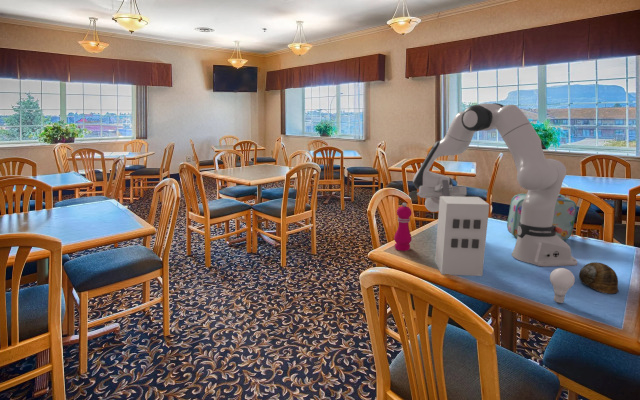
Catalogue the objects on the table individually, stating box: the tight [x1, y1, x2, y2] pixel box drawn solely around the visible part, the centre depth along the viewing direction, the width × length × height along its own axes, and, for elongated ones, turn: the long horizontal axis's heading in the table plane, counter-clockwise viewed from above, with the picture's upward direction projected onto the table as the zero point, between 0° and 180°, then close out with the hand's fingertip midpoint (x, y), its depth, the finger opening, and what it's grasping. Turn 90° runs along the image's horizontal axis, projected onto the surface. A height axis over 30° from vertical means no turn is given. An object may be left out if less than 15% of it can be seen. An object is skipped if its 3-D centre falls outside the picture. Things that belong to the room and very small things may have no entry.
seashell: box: [578, 261, 619, 295], centre depth 127 cm, size 11×9×8 cm
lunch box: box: [506, 193, 577, 242], centre depth 175 cm, size 27×10×21 cm, turn 85°
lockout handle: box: [441, 180, 450, 196], centre depth 160 cm, size 6×22×4 cm
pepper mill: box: [393, 202, 412, 252], centre depth 161 cm, size 7×7×20 cm
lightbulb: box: [549, 267, 576, 304], centre depth 116 cm, size 6×6×11 cm
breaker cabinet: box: [434, 196, 490, 277], centre depth 139 cm, size 14×13×26 cm
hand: (445, 186), depth 164 cm, fingers closed on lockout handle, 2 cm apart
